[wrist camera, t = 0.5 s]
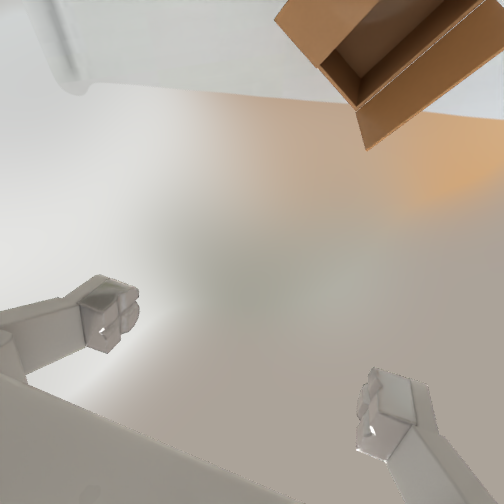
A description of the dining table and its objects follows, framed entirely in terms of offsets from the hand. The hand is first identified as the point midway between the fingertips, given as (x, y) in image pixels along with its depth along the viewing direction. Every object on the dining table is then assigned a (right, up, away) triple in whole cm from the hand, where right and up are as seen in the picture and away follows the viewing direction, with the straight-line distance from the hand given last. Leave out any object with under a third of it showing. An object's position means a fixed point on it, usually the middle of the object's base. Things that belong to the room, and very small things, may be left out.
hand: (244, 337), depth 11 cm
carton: (+16, +35, +29) cm, 48 cm away
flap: (+17, +20, +21) cm, 34 cm away
